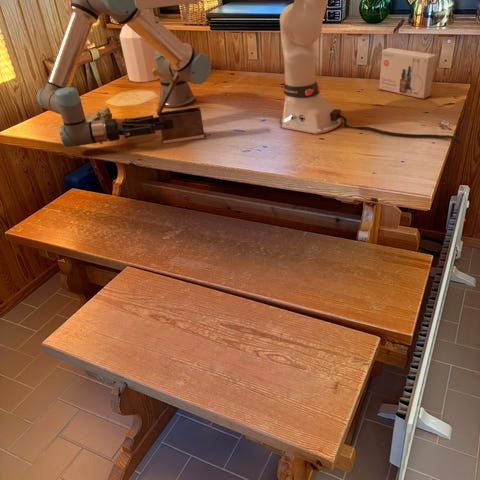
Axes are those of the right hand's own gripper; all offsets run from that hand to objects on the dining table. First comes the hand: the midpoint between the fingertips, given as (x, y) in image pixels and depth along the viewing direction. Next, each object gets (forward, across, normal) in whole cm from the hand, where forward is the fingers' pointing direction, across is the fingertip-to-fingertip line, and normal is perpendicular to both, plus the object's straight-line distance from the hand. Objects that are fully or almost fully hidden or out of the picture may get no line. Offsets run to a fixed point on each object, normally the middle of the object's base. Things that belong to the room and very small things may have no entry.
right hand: (171, 21), depth 147 cm
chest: (+39, +2, 0) cm, 39 cm away
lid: (+23, +4, 0) cm, 23 cm away
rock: (+39, +34, -30) cm, 60 cm away
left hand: (+32, +5, 0) cm, 33 cm away
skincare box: (+39, -90, -14) cm, 99 cm away
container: (+39, +14, -93) cm, 102 cm away
